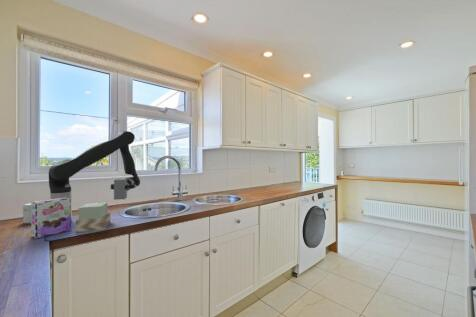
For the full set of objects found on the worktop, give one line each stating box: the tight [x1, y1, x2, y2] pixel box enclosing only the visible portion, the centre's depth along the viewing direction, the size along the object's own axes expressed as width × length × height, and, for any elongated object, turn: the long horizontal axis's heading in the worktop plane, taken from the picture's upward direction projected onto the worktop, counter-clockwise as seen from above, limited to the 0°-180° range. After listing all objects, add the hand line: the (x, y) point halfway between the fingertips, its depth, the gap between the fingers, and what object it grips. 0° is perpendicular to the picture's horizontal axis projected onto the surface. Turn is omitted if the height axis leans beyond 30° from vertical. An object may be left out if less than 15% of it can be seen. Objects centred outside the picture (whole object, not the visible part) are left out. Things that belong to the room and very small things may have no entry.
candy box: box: [30, 197, 72, 240], centre depth 106 cm, size 14×6×16 cm, turn 148°
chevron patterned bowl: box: [75, 212, 111, 233], centre depth 115 cm, size 12×12×6 cm
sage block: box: [78, 202, 109, 220], centre depth 115 cm, size 10×10×6 cm
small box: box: [22, 202, 31, 224], centre depth 126 cm, size 8×6×10 cm
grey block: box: [113, 178, 128, 201], centre depth 127 cm, size 6×6×11 cm
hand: (119, 187), depth 125 cm, fingers closed on grey block, 5 cm apart
